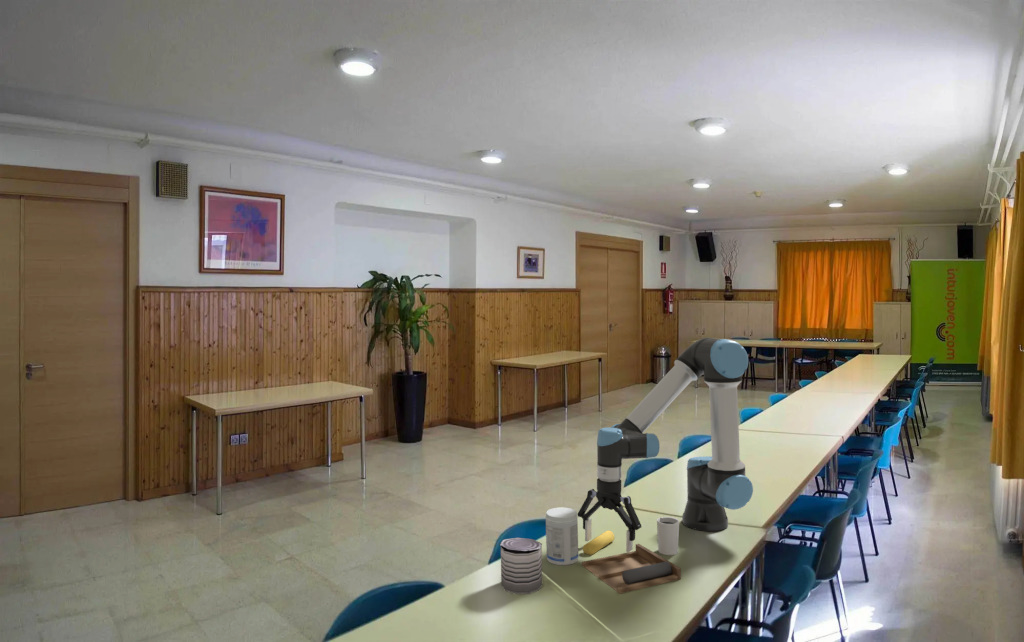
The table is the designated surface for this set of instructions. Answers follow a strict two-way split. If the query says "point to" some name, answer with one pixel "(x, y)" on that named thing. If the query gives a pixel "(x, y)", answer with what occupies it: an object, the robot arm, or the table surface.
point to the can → (521, 565)
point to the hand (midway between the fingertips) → (608, 546)
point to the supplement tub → (562, 536)
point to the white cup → (668, 535)
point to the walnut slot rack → (615, 565)
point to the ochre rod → (598, 543)
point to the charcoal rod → (646, 572)
